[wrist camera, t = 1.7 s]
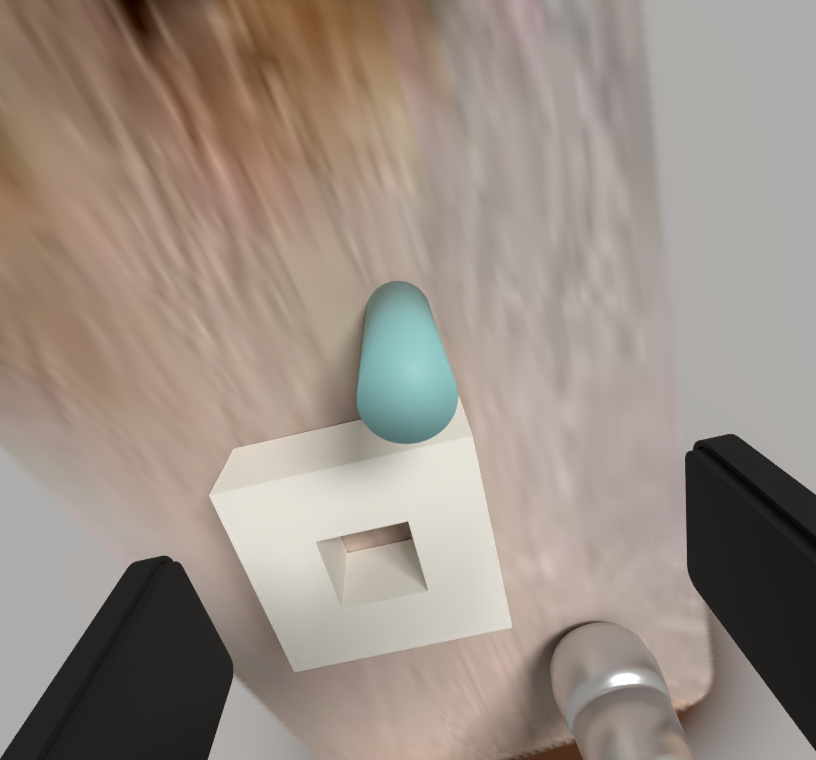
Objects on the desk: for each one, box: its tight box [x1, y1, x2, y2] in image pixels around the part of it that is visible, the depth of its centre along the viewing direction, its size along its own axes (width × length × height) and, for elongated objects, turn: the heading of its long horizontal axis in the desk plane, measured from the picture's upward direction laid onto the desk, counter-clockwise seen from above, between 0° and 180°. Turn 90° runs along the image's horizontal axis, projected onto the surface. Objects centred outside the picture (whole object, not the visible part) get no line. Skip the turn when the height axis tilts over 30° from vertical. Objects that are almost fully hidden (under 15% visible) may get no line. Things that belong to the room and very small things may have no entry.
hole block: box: [209, 397, 512, 673], centre depth 26 cm, size 12×12×4 cm
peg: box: [356, 281, 458, 444], centre depth 19 cm, size 3×3×10 cm
